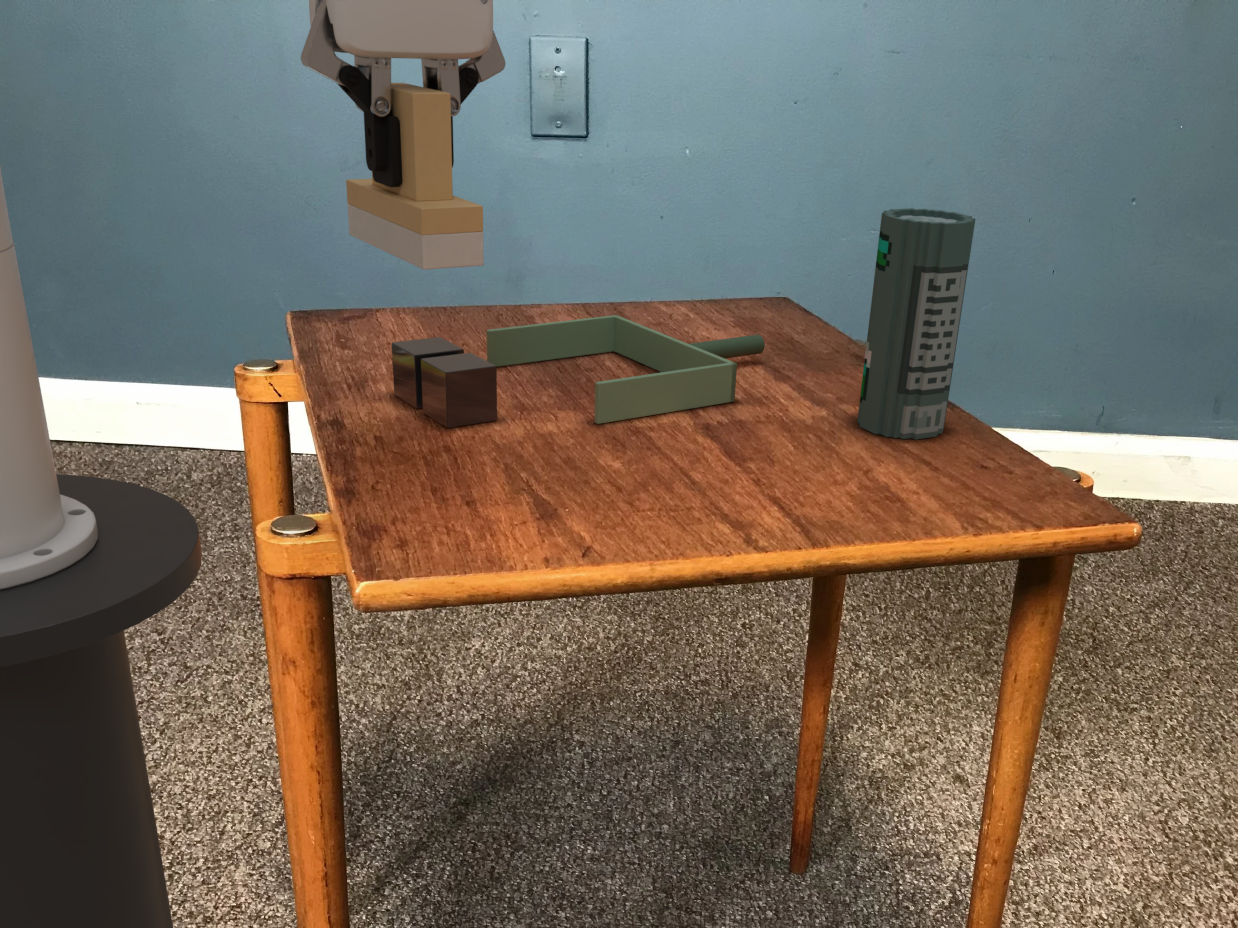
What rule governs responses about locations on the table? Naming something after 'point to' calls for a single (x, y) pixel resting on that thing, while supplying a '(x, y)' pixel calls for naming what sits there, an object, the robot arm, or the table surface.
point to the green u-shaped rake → (684, 367)
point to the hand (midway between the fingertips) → (410, 180)
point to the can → (914, 321)
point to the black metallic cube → (416, 365)
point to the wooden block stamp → (419, 192)
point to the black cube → (459, 389)
